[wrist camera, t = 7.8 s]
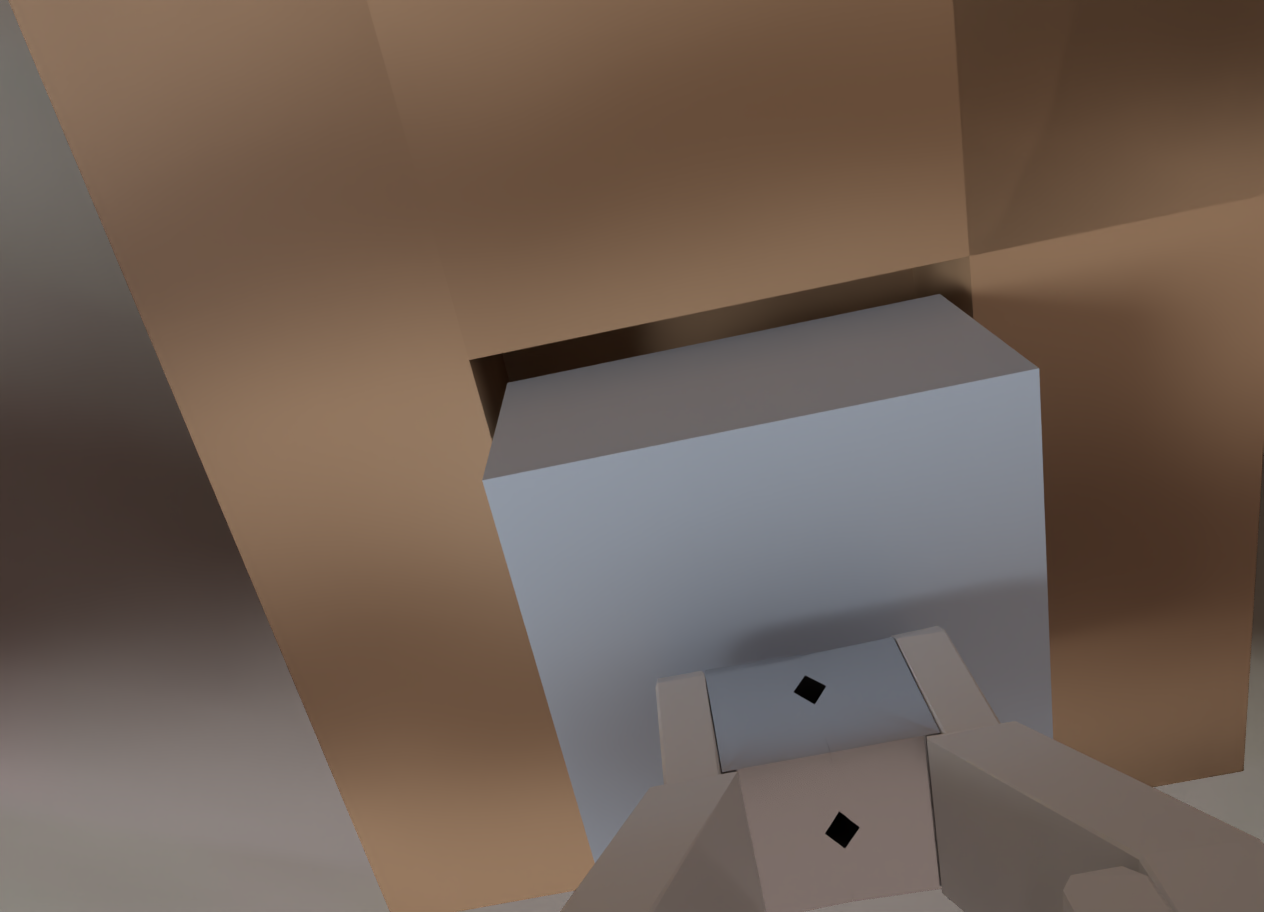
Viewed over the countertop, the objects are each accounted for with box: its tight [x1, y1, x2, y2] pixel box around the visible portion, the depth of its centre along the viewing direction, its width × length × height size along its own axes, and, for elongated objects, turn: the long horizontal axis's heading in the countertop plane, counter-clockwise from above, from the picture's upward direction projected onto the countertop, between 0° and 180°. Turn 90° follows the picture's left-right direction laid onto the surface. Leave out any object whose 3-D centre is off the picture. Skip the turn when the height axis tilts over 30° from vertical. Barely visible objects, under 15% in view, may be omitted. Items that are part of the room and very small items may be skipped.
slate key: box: [482, 294, 1053, 863], centre depth 12 cm, size 6×6×3 cm
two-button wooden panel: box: [9, 0, 1264, 912], centre depth 13 cm, size 24×14×3 cm, turn 12°
